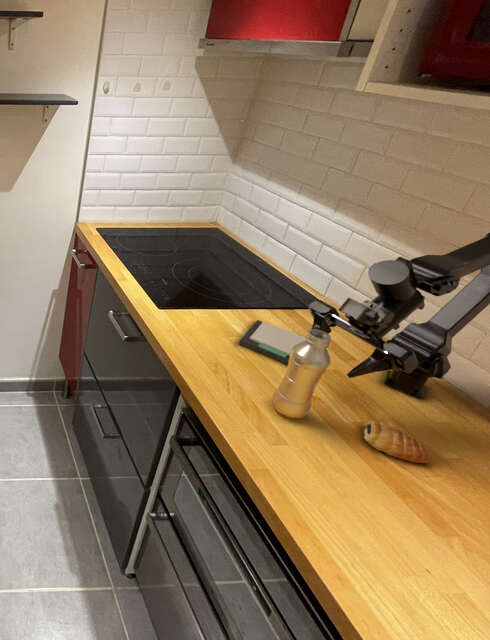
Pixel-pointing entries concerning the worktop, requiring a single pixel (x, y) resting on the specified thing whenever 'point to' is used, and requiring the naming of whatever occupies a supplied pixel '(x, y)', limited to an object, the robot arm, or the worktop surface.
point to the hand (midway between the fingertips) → (325, 361)
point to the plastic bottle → (302, 375)
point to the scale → (271, 341)
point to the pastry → (395, 442)
